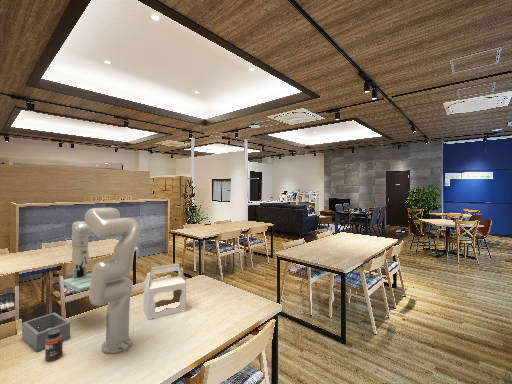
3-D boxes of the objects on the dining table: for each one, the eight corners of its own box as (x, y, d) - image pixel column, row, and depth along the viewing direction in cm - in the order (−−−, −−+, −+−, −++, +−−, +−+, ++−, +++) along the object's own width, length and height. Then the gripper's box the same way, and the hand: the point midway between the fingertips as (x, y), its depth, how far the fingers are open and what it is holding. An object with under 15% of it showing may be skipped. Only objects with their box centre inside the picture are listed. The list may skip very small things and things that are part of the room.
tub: (69, 338, 125) (70, 322, 125) (36, 352, 114) (36, 334, 114) (54, 327, 135) (54, 312, 135) (22, 339, 124) (22, 322, 124)
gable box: (147, 320, 145) (148, 270, 144) (142, 311, 155) (143, 264, 155) (186, 310, 157) (187, 264, 157) (179, 302, 168) (180, 259, 168)
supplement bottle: (60, 351, 116) (60, 326, 116) (64, 357, 112) (64, 331, 112) (43, 357, 111) (43, 331, 111) (46, 363, 107) (47, 336, 107)
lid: (110, 284, 140) (110, 271, 140) (79, 292, 128) (80, 278, 128) (91, 276, 151) (92, 264, 151) (62, 284, 138) (62, 270, 138)
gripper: (94, 244, 143) (93, 277, 143) (81, 240, 151) (80, 272, 151) (79, 246, 136) (78, 281, 136) (66, 243, 144) (65, 275, 145)
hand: (79, 276), depth 144 cm, fingers closed on lid, 1 cm apart
